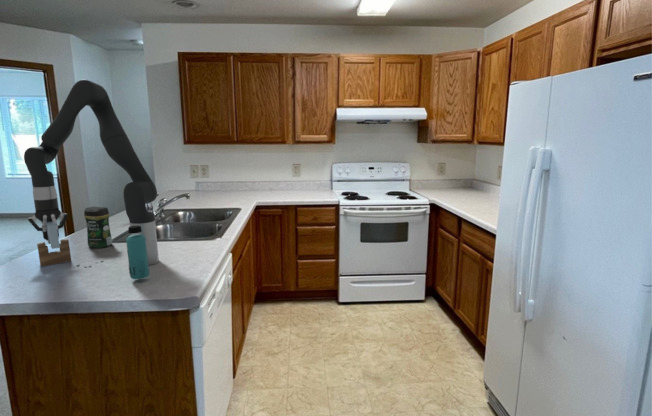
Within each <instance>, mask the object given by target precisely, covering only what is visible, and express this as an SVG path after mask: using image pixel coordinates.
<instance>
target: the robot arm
mask: <svg viewBox="0 0 652 416" xmlns="http://www.w3.org/2000/svg"><path fill="white" fill-rule="evenodd" d="M86 106H88V107H89V108H90V109H91V111H92V112H93V113H94V115H95V117H96V119H97V122H98V125H99V126H98V127H99V128H98V129H99V137H100V141H101V143H102V145H103V147H104V150H105V151H106V153H107V155H108V157H109V158H110V159H111V160H112V161H113V162H115V163H116V164H117V165H118V166H119V167H121V168H122V169H123V170H124V171H125V172H126V173H127V174H128V175H129V177H130V179H131V180H132V181H131V182H128V183H126V184H125V186H124V187H123V201H124V207H125V214H126V216H127V217H128V221H129V227H130V226H134V225H139V226H141V230H142V232H139V233H130V235H134V234H142V235H143V236H145V237H146V248H147V256H148V263H149V264H148V266H151V265H155V264H156V265H157V264H158V263H159V259H160V258H159V249H158V239H157V236H158V235H157V228H156V215H155V213H154V212H152V211H148V209H147V205H146V204H149V203H152V202H154V201H155V200H156V199H157V196H158V190H157V187H156V185H155V183H154V181H153V179H151V177H150V176H149V173H148V172H147V171H146V169H145V167H144V165H143V164H142V162H141V160H140V158H139V157H138V155H137V153H136V151H135V149H134V147H133V146H132V145H133V144H132V142H131V140H130V139H129V137H128V135H127V134H126V131H125V130H124V127H123V125H122V124H121V122H120V120H119V118H118V116H117V114H116V112H115V110H114V108H113V105H112V102H111V99H110V97H109V95H108V92H107V90H106V89H105V88H104V86H102V85H100V84H98V83H96V82H93V81H91V80H88V79H80V80H78V81H76V82H75V83H74V84H73V86H72V87H71V89H70V91H69V93H68V95H67V96H66V99H65V101H64V103H63V104H62V106H61V108H60V110H59V112H58V113H57V115H56V117H54V120H52V122H51V123H50V125H48V127H47V128H46V130H44V132H43V133H42V134H41V137H40V138H41V143H40V144H39V146H32V147H28V148H27V149H25V150H24V153H23V154H24V155H23V160H24V164H25V166H26V168H27V171H28V173H29V175H30V176H31V186H32V197H33V204H34V210H35V212H34V214H33V216H30V217H28V218H27V220H28V222H29V223H30V224H31V225H32V226H33V228H34V229H35V230H36V231H37V232H42V238H43V239H44V240H45V241H46V242H48V241H47V240H48V234H47V231H46V223H47V222H54V223H55V224H56V225H57V231H58V238H60V234H59V233H60V231H59V230H60V229H62V228H64V226H65V223H66V221H67V219H68V217H69V214H68V213H66V212H65V213H64V212H61V210H60V208H59V201H58V194H57V188H56V186H55V185H56V183H55V178H54V173H53V172H52V171H49V170H48V168H47V165H48V164H51V163H52V162H53V161H54V160H55V159H56V157H57V155H58V153H59V152H60V149H61V147H62V146H63V144H64V143H65V142H66V141H67V140H68V139H69V137H70V136H71V134H72V133H73V130H74V128H75V122H76V119H77V117H78V115H79V113H80V112H81V111H82V110H83V109H84V108H85V107H86ZM59 217H60V218H61V219H60V222H59V224H58V222H57V220H58V218H59ZM36 219H37V220H39V221H40V222H41V227H40V226H39V225H38V224H37V223H36V221H37V220H36Z"/></svg>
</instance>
